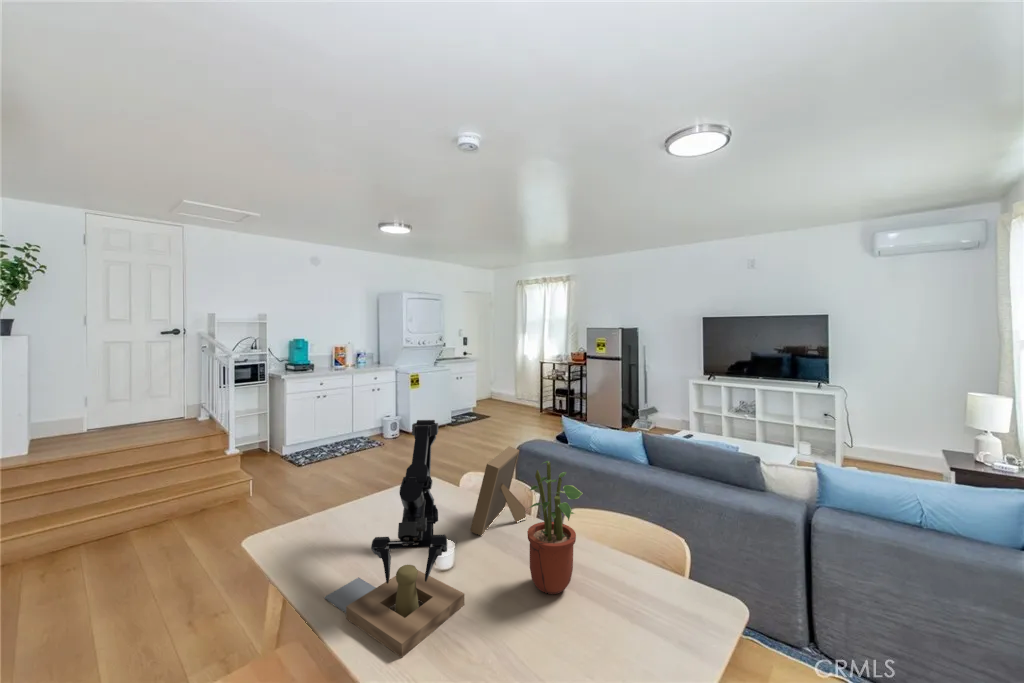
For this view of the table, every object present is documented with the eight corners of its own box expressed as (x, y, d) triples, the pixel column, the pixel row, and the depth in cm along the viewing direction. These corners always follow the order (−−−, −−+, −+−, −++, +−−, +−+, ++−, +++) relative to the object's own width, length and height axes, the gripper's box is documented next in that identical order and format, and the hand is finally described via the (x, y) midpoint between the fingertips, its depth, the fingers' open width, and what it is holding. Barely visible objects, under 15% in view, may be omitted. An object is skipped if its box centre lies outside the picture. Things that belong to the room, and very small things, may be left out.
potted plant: (564, 610, 100) (566, 471, 99) (510, 589, 108) (511, 460, 107) (587, 573, 116) (589, 452, 115) (538, 557, 123) (539, 444, 122)
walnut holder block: (410, 576, 113) (410, 566, 113) (464, 605, 102) (464, 593, 102) (346, 618, 97) (346, 606, 97) (401, 657, 85) (401, 643, 85)
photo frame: (469, 534, 137) (471, 461, 136) (494, 507, 157) (495, 444, 157) (510, 542, 132) (512, 467, 131) (530, 514, 153) (532, 449, 152)
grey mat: (358, 579, 112) (358, 577, 112) (381, 592, 106) (381, 590, 106) (324, 598, 104) (324, 596, 104) (347, 614, 98) (347, 612, 98)
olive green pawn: (412, 622, 96) (412, 577, 95) (389, 618, 97) (389, 573, 97) (423, 605, 102) (423, 562, 101) (401, 601, 103) (401, 559, 103)
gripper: (372, 506, 103) (360, 575, 92) (446, 504, 105) (443, 571, 94) (380, 522, 111) (369, 587, 100) (448, 520, 113) (445, 583, 102)
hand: (406, 582), depth 99 cm, fingers open, 9 cm apart
